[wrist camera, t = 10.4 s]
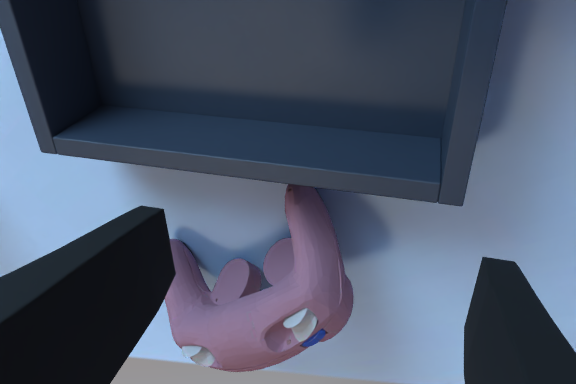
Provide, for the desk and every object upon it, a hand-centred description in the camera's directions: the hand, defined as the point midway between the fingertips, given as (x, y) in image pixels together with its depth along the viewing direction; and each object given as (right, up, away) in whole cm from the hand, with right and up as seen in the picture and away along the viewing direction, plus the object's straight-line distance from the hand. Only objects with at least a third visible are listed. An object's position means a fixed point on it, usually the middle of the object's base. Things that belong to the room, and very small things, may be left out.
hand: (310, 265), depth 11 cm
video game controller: (-2, -1, +14) cm, 14 cm away
